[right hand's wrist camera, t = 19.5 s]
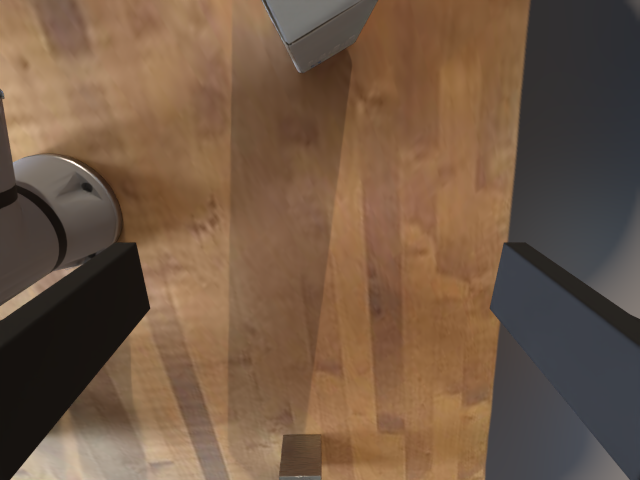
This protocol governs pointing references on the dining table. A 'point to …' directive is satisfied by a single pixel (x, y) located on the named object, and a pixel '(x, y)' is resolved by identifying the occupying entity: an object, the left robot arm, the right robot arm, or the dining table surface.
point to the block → (301, 458)
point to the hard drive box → (317, 27)
